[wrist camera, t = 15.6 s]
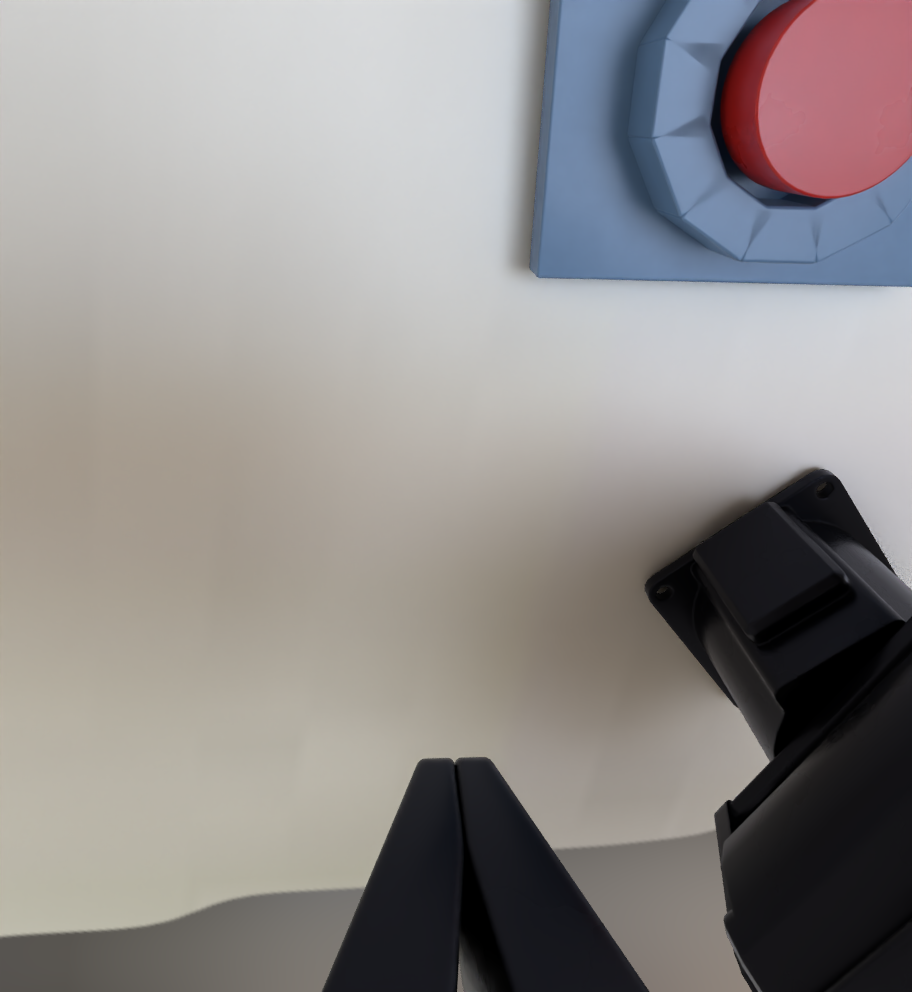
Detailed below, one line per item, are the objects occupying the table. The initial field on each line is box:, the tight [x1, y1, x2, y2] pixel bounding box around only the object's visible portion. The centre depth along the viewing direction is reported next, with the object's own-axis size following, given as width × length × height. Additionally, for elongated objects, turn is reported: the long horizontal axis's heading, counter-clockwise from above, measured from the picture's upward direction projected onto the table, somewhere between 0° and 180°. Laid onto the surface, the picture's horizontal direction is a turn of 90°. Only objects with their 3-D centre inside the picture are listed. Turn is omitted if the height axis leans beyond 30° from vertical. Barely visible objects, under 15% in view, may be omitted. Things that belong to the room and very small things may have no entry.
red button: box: [720, 0, 912, 199], centre depth 15 cm, size 4×4×2 cm
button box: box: [530, 0, 912, 287], centre depth 16 cm, size 10×8×3 cm
